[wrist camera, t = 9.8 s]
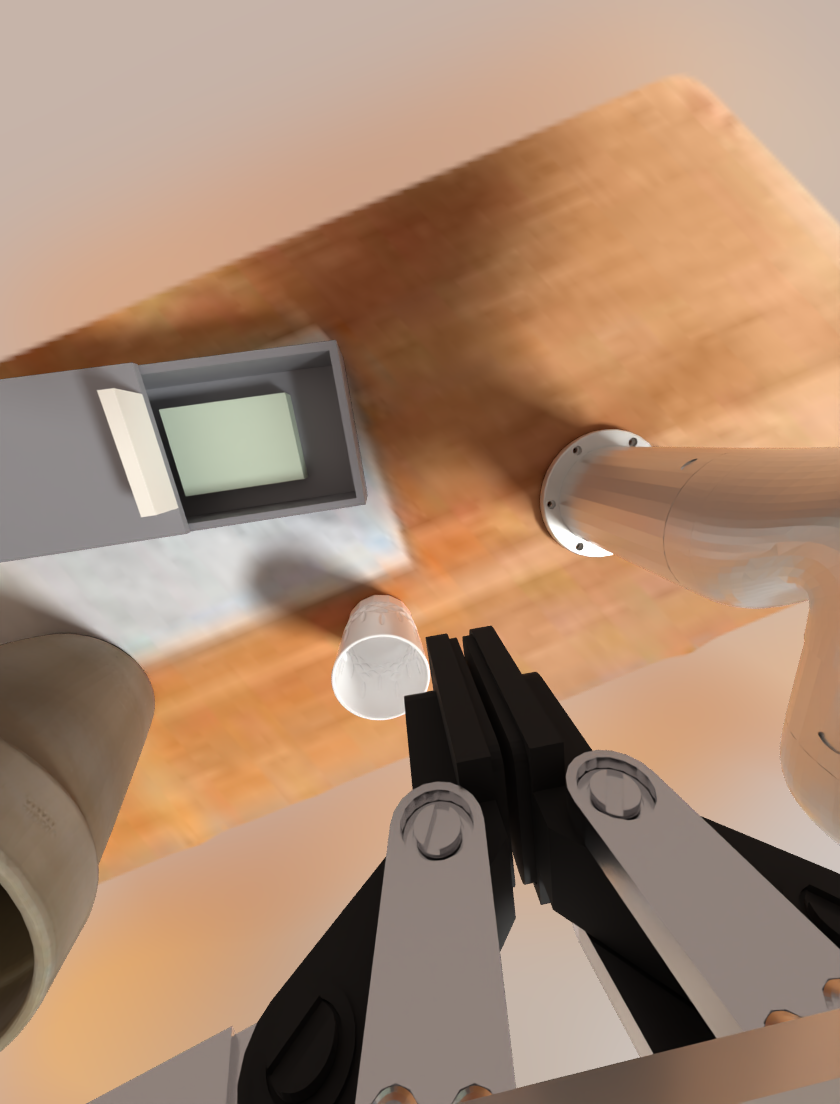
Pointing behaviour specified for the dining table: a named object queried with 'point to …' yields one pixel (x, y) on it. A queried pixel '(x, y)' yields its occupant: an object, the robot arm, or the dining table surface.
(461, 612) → the dining table surface
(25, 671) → the plant pot
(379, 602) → the white cup
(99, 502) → the mailer lid
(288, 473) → the box
